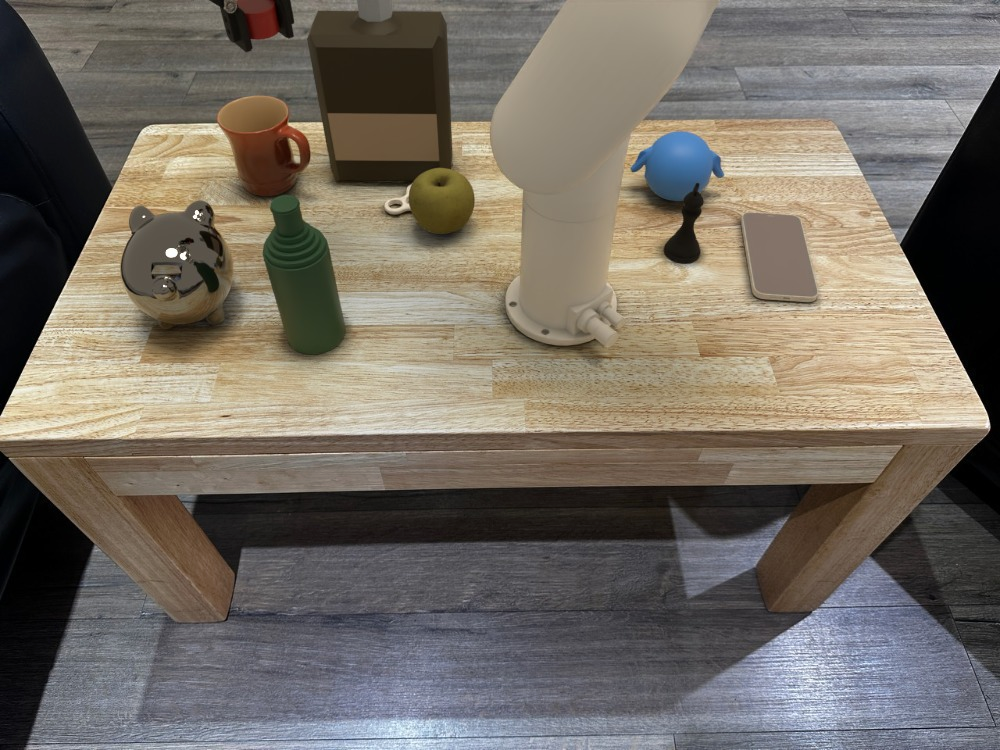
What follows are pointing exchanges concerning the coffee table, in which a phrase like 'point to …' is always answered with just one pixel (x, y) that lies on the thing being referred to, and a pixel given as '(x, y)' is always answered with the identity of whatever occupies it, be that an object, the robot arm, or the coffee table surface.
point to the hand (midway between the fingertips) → (263, 37)
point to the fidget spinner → (400, 201)
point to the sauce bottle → (303, 280)
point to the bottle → (382, 91)
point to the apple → (441, 200)
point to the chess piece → (686, 231)
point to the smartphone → (778, 257)
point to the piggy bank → (177, 265)
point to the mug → (263, 143)
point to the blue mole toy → (678, 165)
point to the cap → (260, 18)
